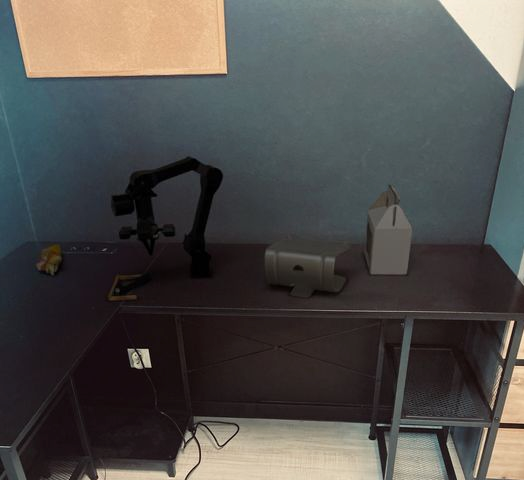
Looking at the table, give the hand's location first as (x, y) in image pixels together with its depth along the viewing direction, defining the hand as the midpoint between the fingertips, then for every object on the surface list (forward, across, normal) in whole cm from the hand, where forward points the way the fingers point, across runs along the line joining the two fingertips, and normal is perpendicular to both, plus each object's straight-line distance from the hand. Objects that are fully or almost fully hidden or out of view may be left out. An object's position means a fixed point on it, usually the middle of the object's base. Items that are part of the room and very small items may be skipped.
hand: (151, 255), depth 186 cm
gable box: (+12, +86, +8) cm, 88 cm away
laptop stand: (+12, +54, -7) cm, 56 cm away
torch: (+11, -41, +24) cm, 49 cm away
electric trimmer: (+11, -8, -1) cm, 14 cm away
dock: (+11, -10, -3) cm, 15 cm away
